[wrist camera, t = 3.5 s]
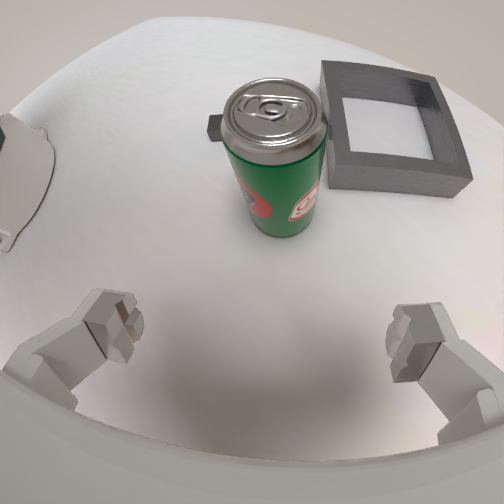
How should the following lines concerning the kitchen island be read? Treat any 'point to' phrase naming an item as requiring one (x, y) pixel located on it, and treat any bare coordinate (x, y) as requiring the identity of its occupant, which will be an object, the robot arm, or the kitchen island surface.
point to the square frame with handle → (383, 165)
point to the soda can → (276, 151)
